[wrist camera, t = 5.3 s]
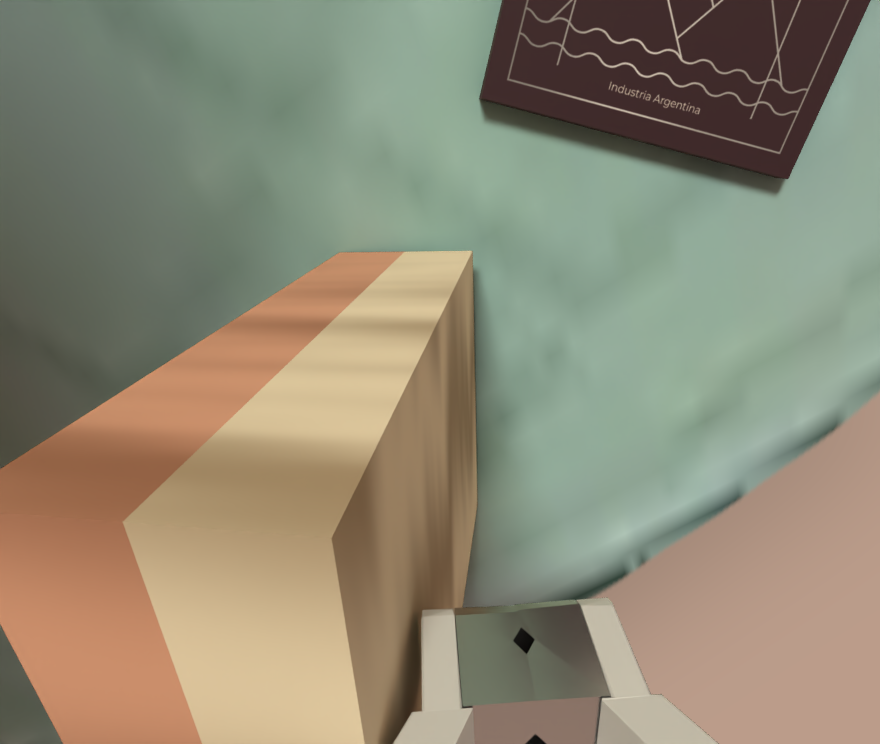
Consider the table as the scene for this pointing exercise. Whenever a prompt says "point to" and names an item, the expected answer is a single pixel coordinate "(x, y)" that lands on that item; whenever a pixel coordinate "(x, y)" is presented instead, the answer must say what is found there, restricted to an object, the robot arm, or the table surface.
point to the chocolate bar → (677, 71)
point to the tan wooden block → (257, 520)
